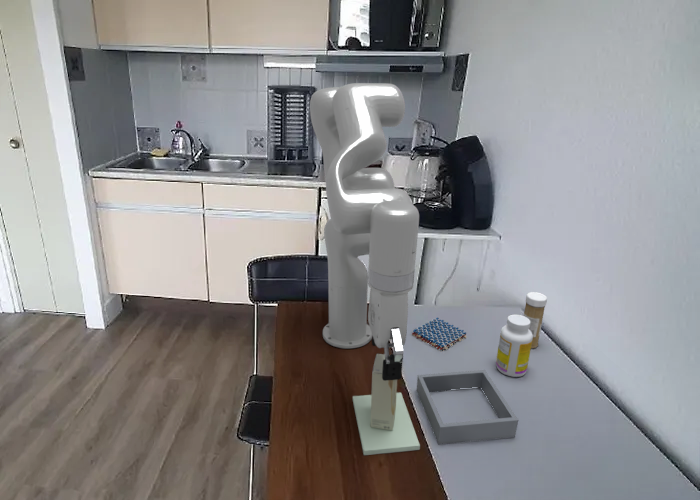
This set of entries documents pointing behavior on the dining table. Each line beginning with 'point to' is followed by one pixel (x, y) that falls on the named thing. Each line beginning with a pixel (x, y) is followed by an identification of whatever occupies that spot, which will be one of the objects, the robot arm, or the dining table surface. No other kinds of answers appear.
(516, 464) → the dining table surface
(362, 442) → the pad
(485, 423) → the bin
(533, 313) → the sprinkles bottle
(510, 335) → the supplement bottle
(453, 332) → the woven mat
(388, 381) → the skincare box
